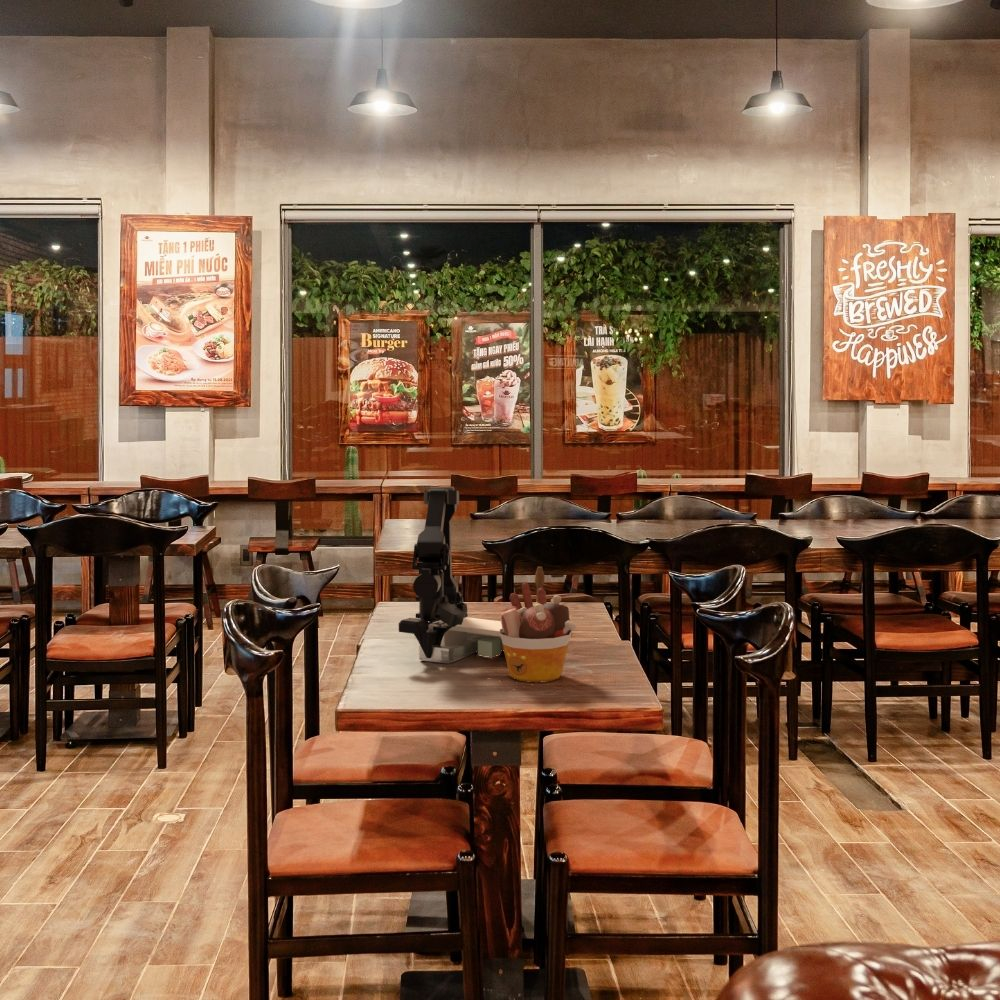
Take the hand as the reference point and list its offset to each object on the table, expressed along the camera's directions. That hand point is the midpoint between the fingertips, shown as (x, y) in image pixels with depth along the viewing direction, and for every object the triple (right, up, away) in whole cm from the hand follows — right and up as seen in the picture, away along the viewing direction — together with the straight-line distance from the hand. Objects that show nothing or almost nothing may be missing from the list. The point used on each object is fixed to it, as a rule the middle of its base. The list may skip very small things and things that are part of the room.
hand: (431, 657), depth 272 cm
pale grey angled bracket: (+7, 0, +5) cm, 9 cm away
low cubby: (+13, 0, +8) cm, 15 cm away
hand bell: (+27, +3, +44) cm, 52 cm away
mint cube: (+14, -1, +6) cm, 15 cm away
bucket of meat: (+24, -3, -15) cm, 28 cm away
